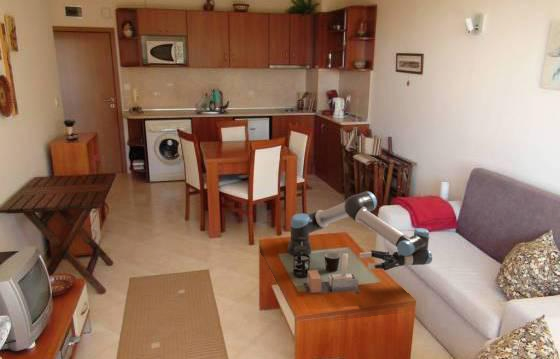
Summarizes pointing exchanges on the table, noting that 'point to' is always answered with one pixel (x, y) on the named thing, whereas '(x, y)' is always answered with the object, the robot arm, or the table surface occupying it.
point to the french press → (301, 263)
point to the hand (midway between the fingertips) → (363, 260)
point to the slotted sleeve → (337, 286)
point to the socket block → (314, 281)
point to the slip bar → (343, 273)
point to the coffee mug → (331, 261)
